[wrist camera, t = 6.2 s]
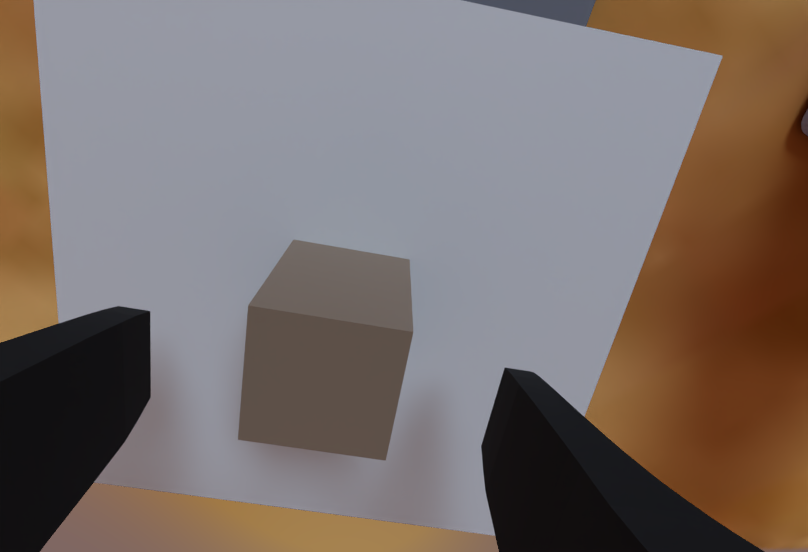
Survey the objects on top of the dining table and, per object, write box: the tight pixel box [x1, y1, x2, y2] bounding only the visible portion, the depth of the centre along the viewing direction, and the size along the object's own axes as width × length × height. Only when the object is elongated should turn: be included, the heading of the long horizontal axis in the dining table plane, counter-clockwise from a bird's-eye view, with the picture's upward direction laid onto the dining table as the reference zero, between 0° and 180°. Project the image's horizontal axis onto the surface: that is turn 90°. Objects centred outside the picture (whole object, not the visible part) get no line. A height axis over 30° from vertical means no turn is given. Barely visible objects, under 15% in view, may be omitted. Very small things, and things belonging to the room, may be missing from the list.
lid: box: [34, 0, 722, 536], centre depth 12 cm, size 15×15×5 cm
